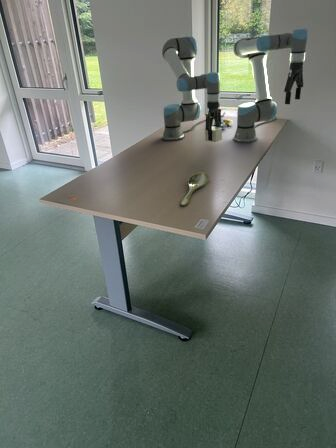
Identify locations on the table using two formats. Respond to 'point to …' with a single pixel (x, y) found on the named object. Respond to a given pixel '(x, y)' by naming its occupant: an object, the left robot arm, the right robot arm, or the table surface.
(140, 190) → the table surface
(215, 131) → the block
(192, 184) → the spoon
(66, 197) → the table surface
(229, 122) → the spray gun
